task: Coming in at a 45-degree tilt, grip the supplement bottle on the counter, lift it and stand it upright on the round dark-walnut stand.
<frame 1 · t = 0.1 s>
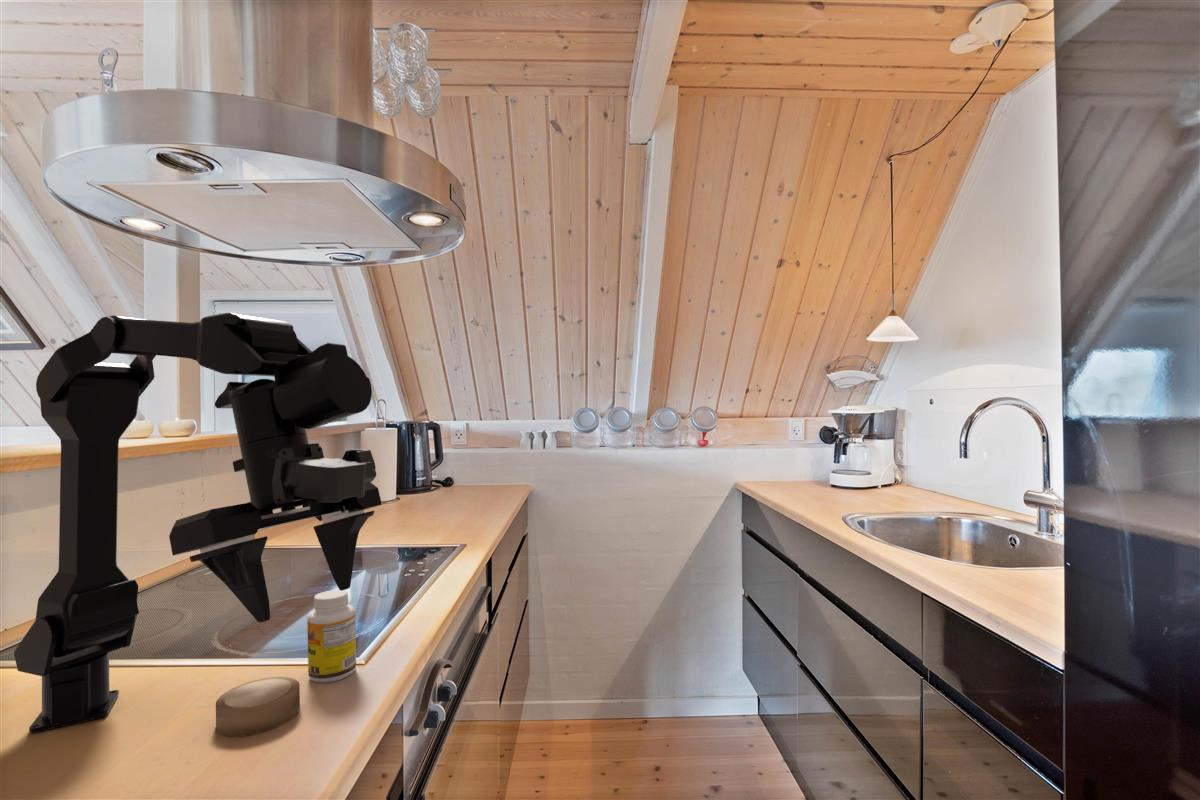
hand: (307, 604, 55), 15 cm above the worktop, tool pointing down, fingers open, 9 cm apart
walnut stand: (259, 716, 65), on the worktop
supplement bottle: (332, 676, 75), on the worktop
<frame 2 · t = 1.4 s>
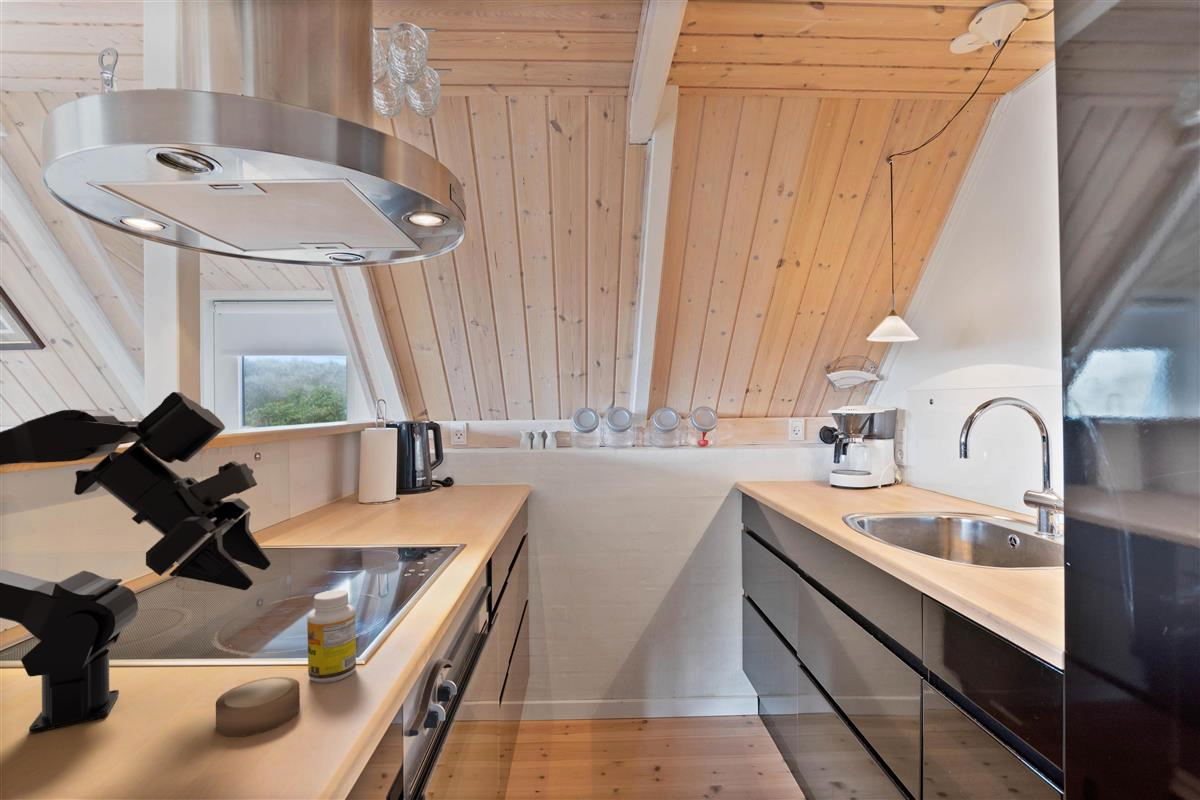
hand: (259, 576, 72), 13 cm above the worktop, tool tilted 45°, fingers open, 9 cm apart
nothing on the worktop moved.
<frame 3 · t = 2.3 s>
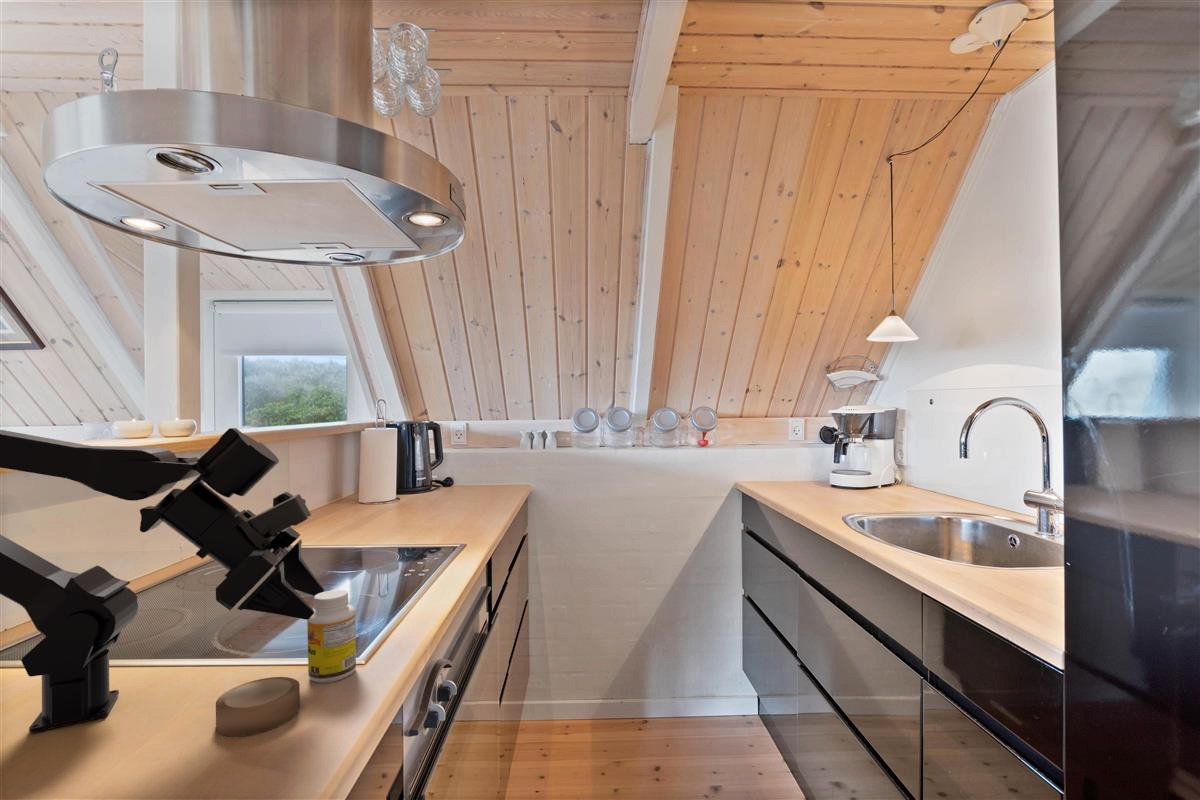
hand: (316, 604, 74), 9 cm above the worktop, tool tilted 45°, fingers open, 9 cm apart
nothing on the worktop moved.
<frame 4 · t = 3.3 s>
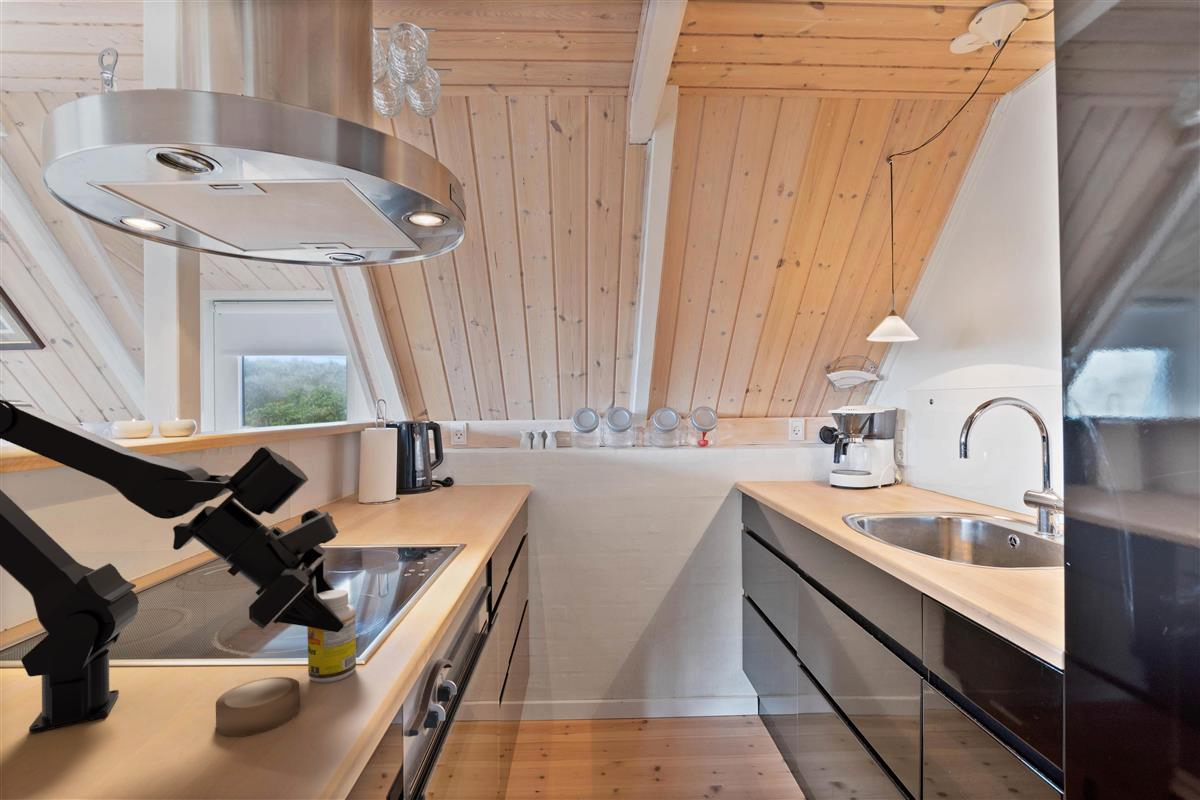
hand: (343, 620, 75), 7 cm above the worktop, tool tilted 45°, fingers closed on supplement bottle, 5 cm apart
supplement bottle: (332, 676, 75), on the worktop, touching gripper
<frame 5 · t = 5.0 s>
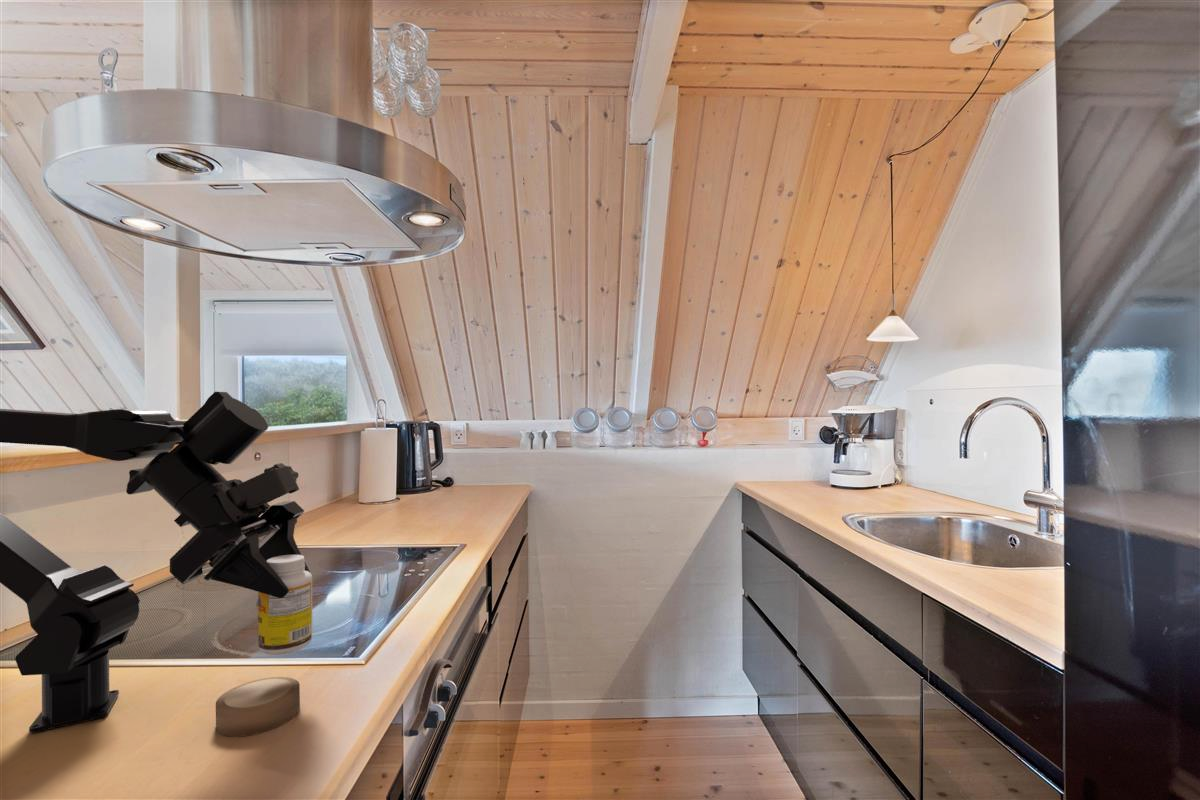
hand: (297, 586, 68), 13 cm above the worktop, tool tilted 45°, fingers closed on supplement bottle, 5 cm apart
supplement bottle: (285, 648, 68), point 6 cm above the worktop, touching gripper
when the fingers open (10 cm above the worktop, at t = 6.5 s): supplement bottle stays where it is, resting on walnut stand.
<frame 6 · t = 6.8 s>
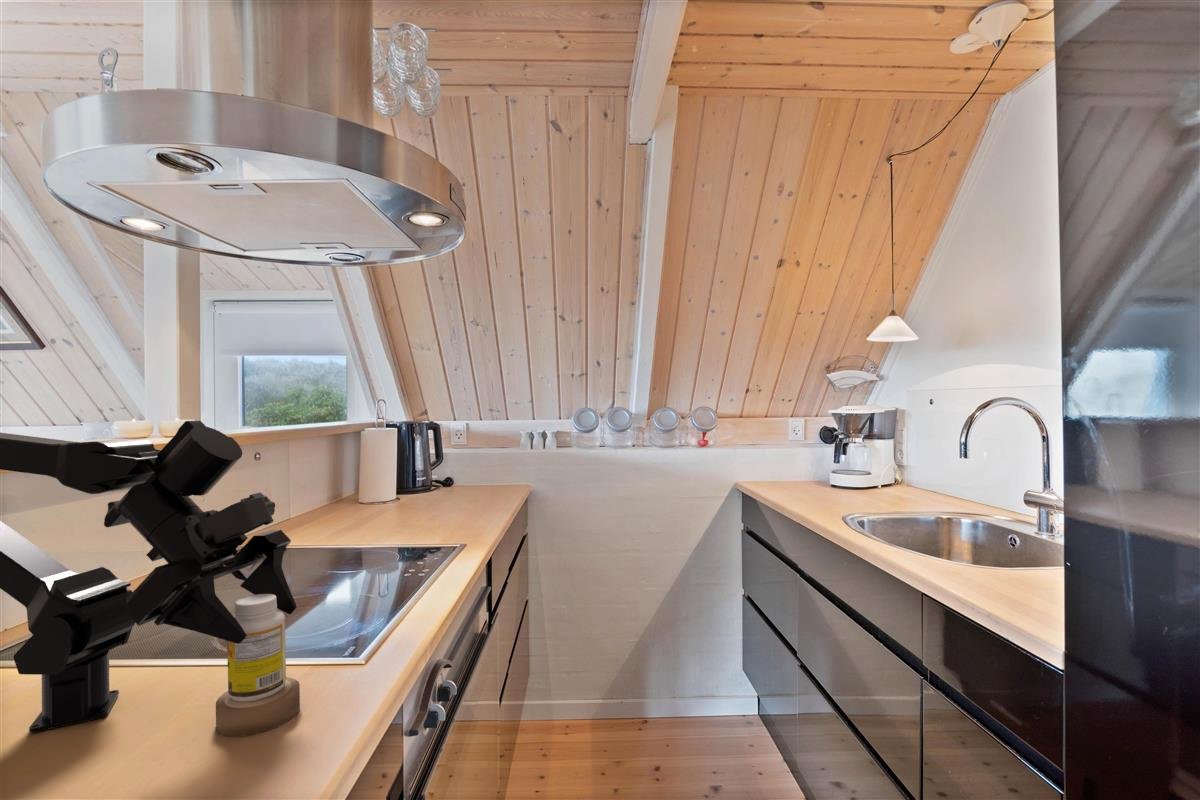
hand: (269, 624, 65), 10 cm above the worktop, tool tilted 45°, fingers open, 8 cm apart
supplement bottle: (257, 693, 65), point 2 cm above the worktop, touching walnut stand
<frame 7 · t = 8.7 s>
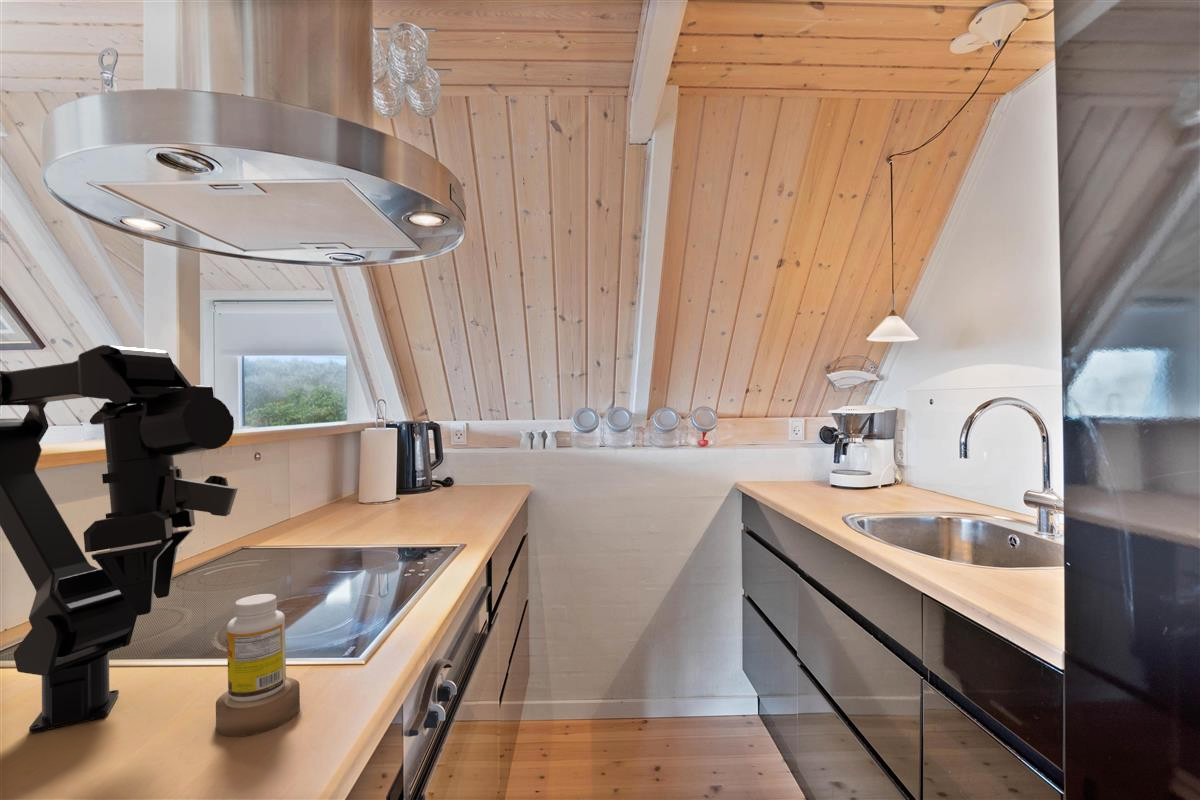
hand: (154, 605, 63), 13 cm above the worktop, tool pointing down, fingers open, 9 cm apart
nothing on the worktop moved.
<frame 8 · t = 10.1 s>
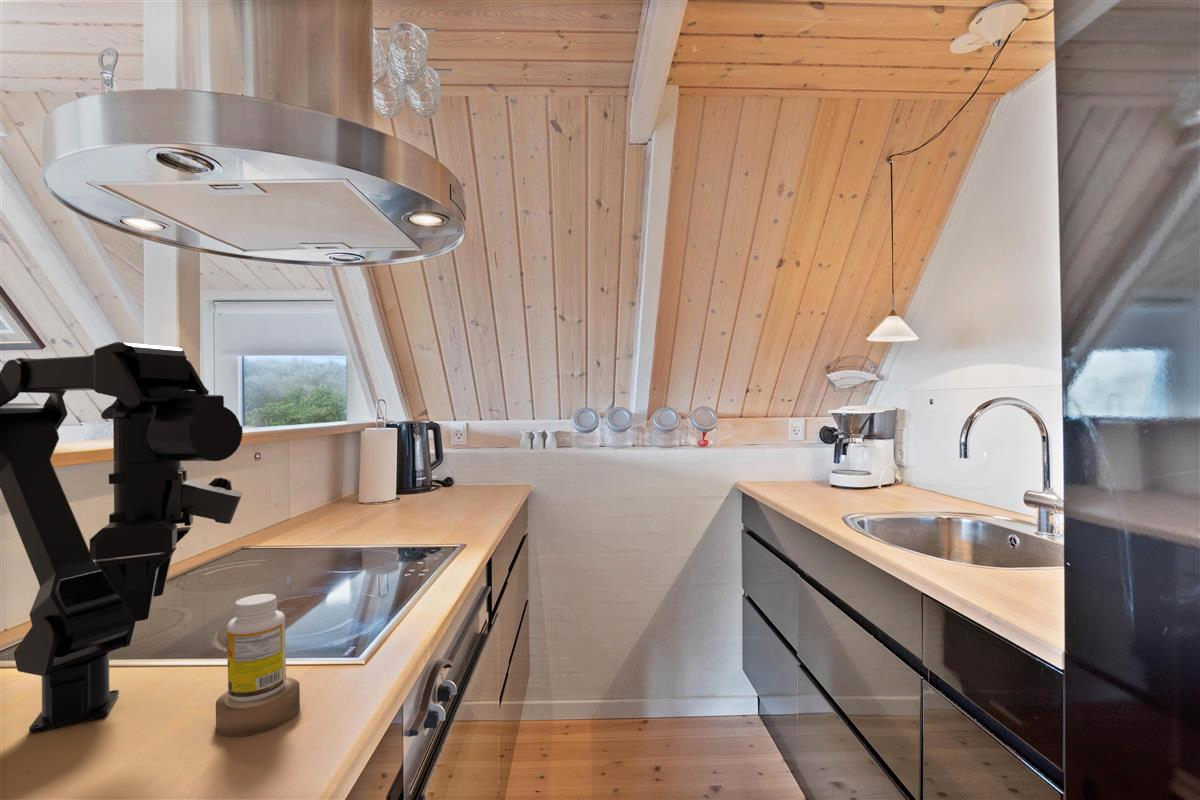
hand: (149, 607, 63), 13 cm above the worktop, tool pointing down, fingers open, 9 cm apart
nothing on the worktop moved.
at the end: supplement bottle 0.2 cm from the walnut stand (horizontally); supplement bottle point 2.5 cm above the worktop; supplement bottle tilted 0° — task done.
